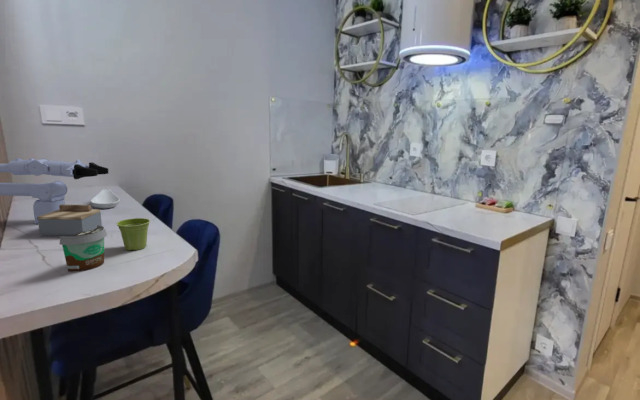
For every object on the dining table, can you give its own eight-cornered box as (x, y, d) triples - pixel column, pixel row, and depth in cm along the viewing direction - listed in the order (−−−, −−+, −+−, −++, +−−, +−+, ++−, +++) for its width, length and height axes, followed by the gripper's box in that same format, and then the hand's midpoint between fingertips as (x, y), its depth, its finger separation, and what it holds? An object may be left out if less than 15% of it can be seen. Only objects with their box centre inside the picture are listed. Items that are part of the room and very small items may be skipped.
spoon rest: (120, 209, 157) (119, 194, 156) (90, 211, 151) (88, 196, 150) (120, 200, 177) (119, 186, 176) (93, 201, 171) (92, 187, 170)
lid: (37, 219, 114) (36, 210, 114) (61, 210, 126) (60, 203, 125) (81, 219, 116) (80, 211, 115) (100, 211, 127) (99, 203, 127)
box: (40, 236, 115) (37, 219, 114) (62, 226, 127) (61, 211, 126) (83, 236, 117) (81, 219, 116) (101, 226, 128) (100, 211, 127)
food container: (82, 276, 87) (78, 239, 85) (62, 273, 88) (58, 236, 86) (119, 259, 98) (116, 226, 97) (101, 256, 100) (98, 224, 98)
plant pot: (129, 255, 102) (127, 227, 100) (112, 248, 107) (110, 222, 105) (157, 246, 110) (156, 221, 108) (141, 241, 115) (139, 216, 113)
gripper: (51, 159, 122) (91, 163, 123) (77, 157, 136) (112, 160, 137) (52, 179, 123) (91, 182, 124) (77, 174, 137) (112, 177, 138)
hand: (102, 172), depth 131 cm, fingers open, 7 cm apart
